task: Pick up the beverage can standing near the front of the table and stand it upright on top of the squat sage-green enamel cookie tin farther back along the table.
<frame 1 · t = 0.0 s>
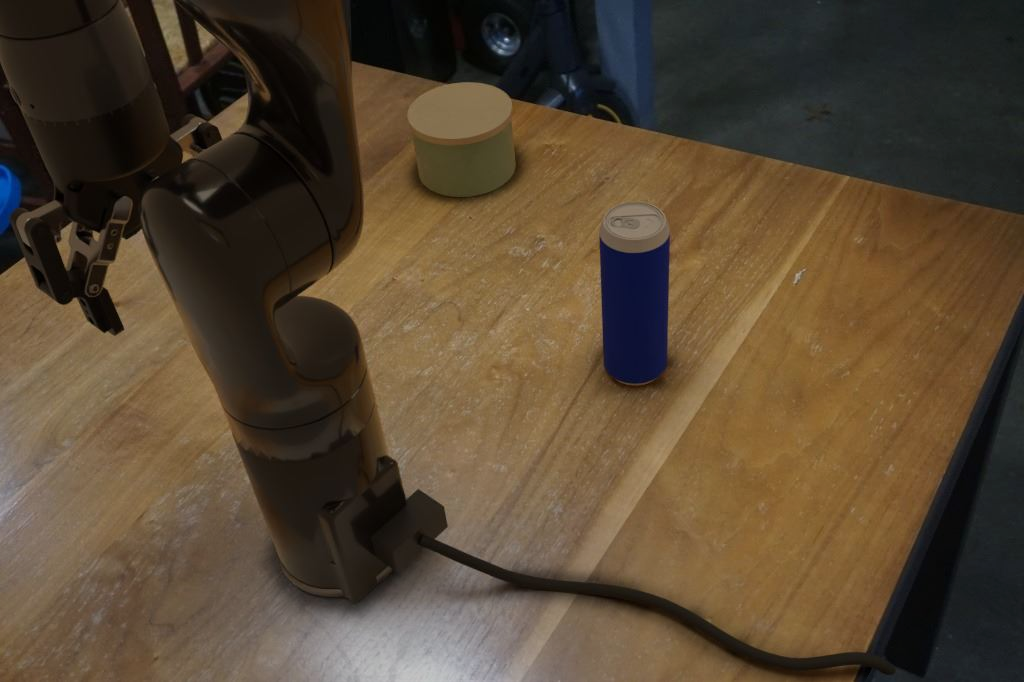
hand: (165, 294, 75), 17 cm above the table, tool pointing down, fingers open, 8 cm apart
beverage can: (635, 368, 90), on the table
cookie tin: (467, 168, 113), on the table
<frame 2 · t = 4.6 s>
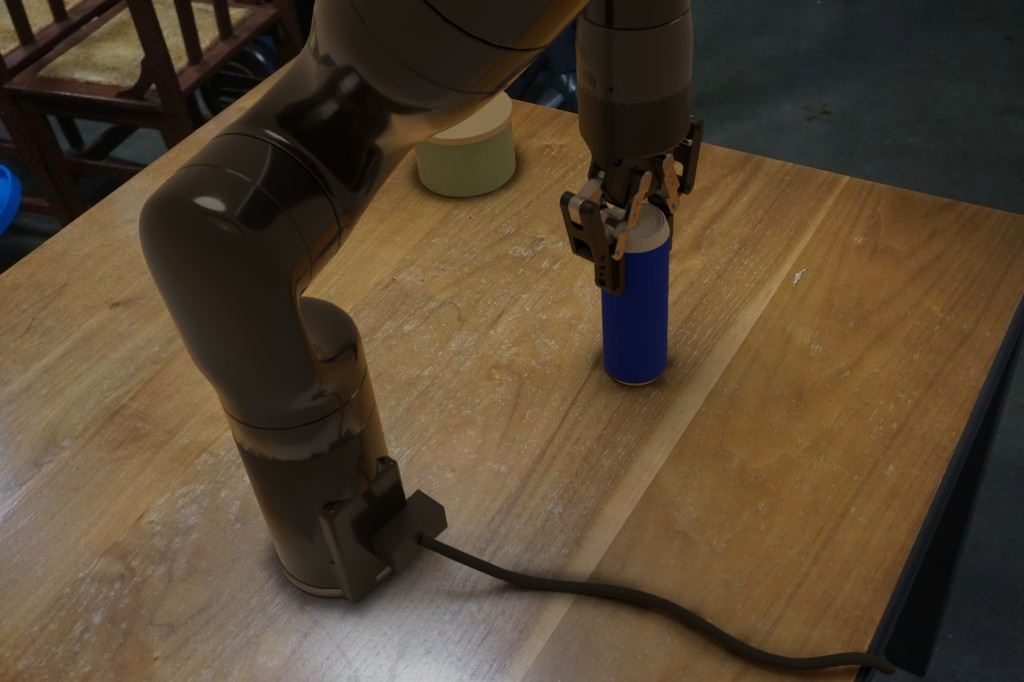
hand: (635, 268, 83), 10 cm above the table, tool pointing down, fingers closed on beverage can, 5 cm apart
beverage can: (635, 368, 90), on the table, touching gripper
everything else where it was.
when the fingers open (17 cm above the table, at t = 12.1 s): beverage can stays where it is, resting on cookie tin.
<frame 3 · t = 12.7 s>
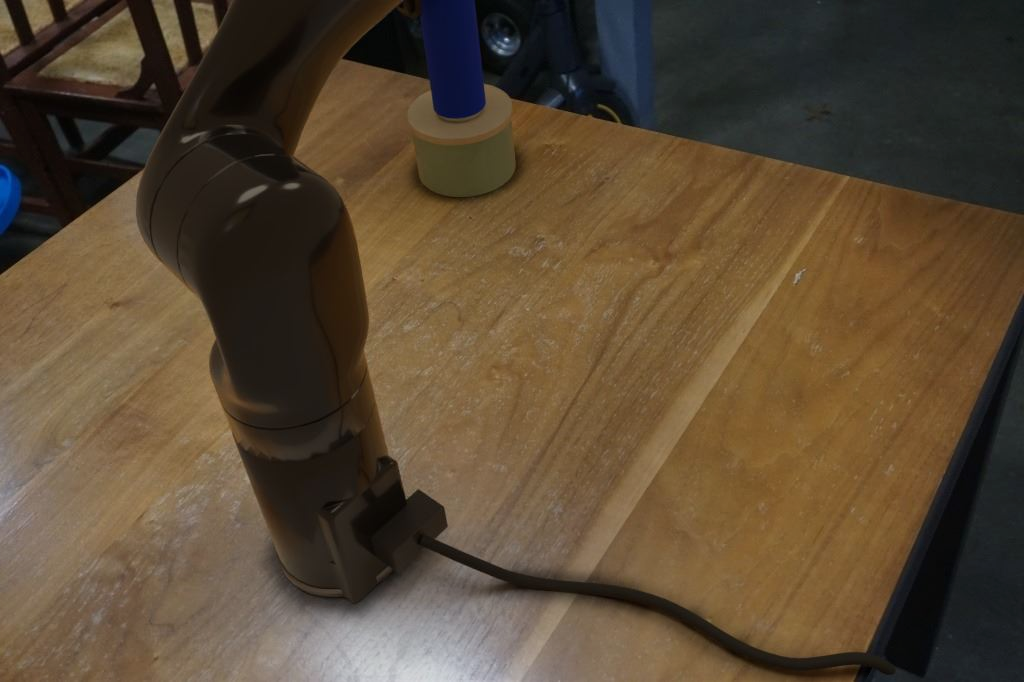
beverage can: (460, 111, 108), point 7 cm above the table, touching cookie tin
cookie tin: (467, 168, 113), on the table, touching beverage can
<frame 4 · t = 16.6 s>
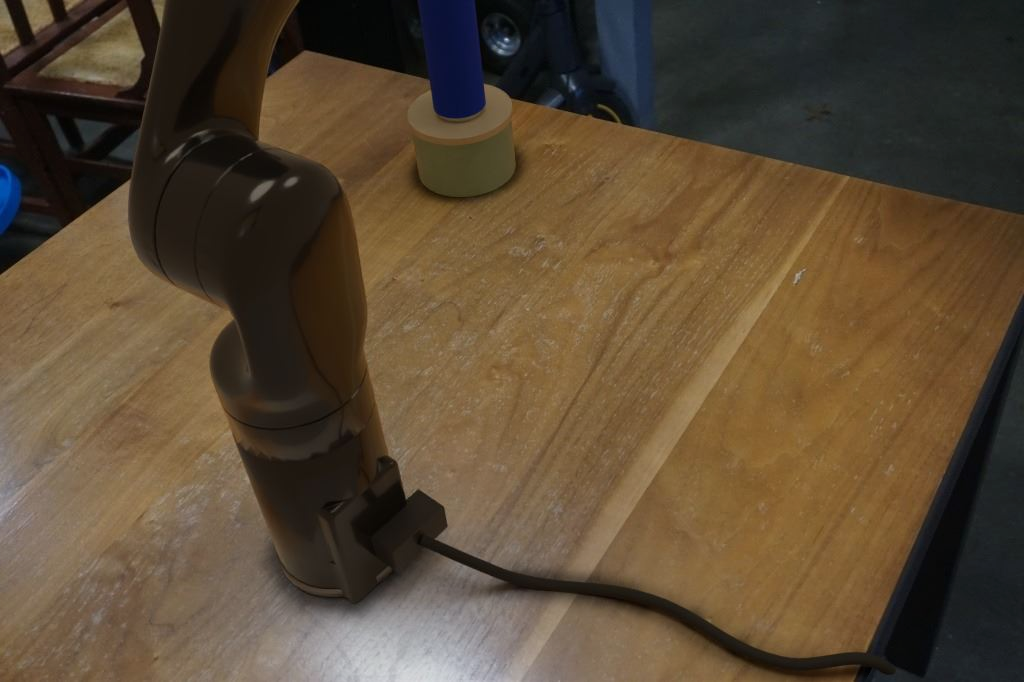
nothing on the table moved.
at the end: beverage can 0.2 cm off-centre on the cookie tin, point 6.8 cm above the cookie tin's base; beverage can tilted 0°; the gripper is holding nothing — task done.
